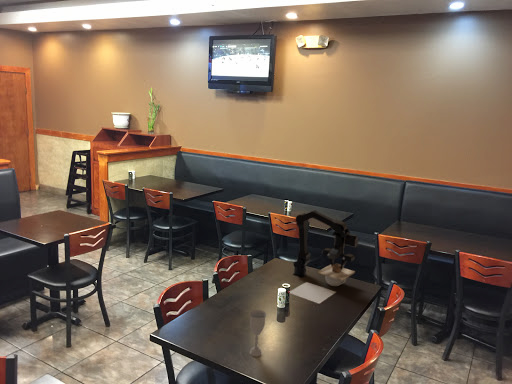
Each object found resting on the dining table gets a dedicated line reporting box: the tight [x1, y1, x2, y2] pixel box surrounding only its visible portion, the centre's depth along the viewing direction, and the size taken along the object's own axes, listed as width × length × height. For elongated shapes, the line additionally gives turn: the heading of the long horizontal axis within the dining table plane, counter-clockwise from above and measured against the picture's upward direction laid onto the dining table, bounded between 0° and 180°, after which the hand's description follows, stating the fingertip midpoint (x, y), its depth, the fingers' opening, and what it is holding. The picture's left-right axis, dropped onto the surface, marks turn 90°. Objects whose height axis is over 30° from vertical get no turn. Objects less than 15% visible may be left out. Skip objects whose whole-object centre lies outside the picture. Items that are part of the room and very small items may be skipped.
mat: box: [289, 281, 337, 305], centre depth 236 cm, size 20×20×1 cm
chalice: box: [248, 309, 268, 357], centre depth 173 cm, size 7×7×18 cm
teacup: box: [324, 275, 347, 287], centre depth 247 cm, size 14×11×8 cm
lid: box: [317, 262, 356, 281], centre depth 246 cm, size 16×16×5 cm
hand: (336, 268), depth 246 cm, fingers open, 6 cm apart
